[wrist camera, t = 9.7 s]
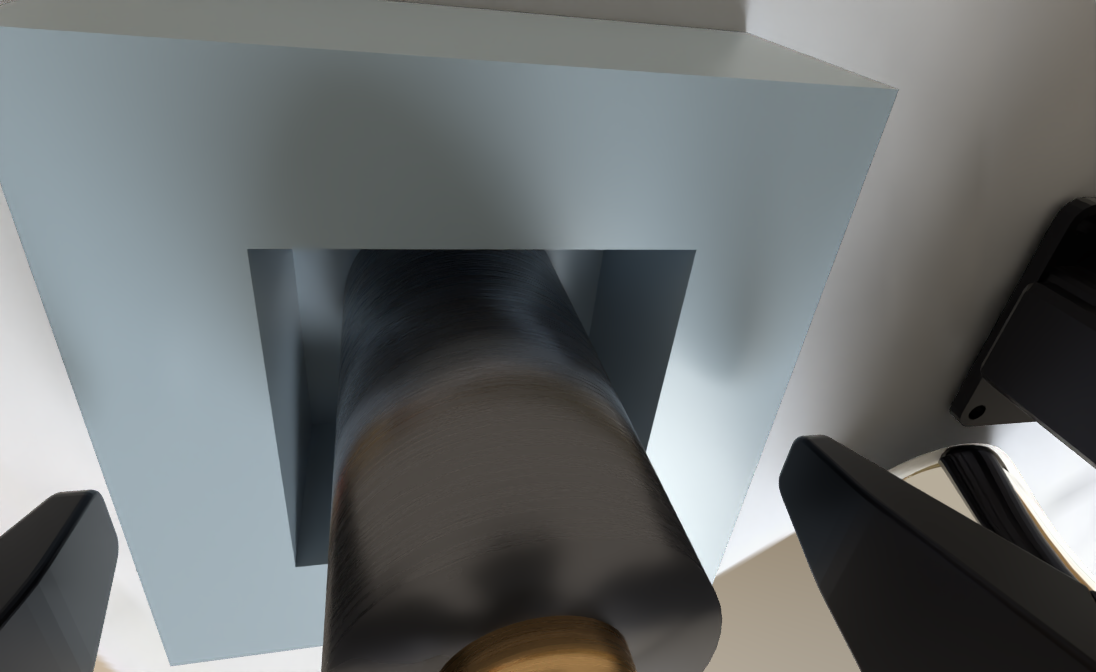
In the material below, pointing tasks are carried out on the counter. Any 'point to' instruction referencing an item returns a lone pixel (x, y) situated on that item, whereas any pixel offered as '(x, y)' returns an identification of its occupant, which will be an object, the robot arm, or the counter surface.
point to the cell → (495, 485)
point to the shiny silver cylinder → (993, 500)
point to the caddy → (400, 245)
